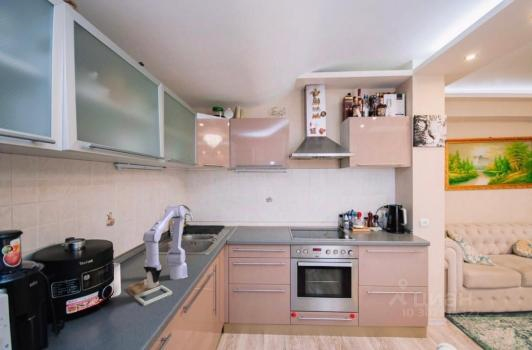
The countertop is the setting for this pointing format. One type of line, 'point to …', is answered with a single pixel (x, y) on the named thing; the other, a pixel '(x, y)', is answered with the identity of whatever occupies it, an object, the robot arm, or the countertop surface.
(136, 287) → the tray
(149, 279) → the white rounded piece
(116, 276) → the cup
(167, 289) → the tray
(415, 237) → the countertop surface
